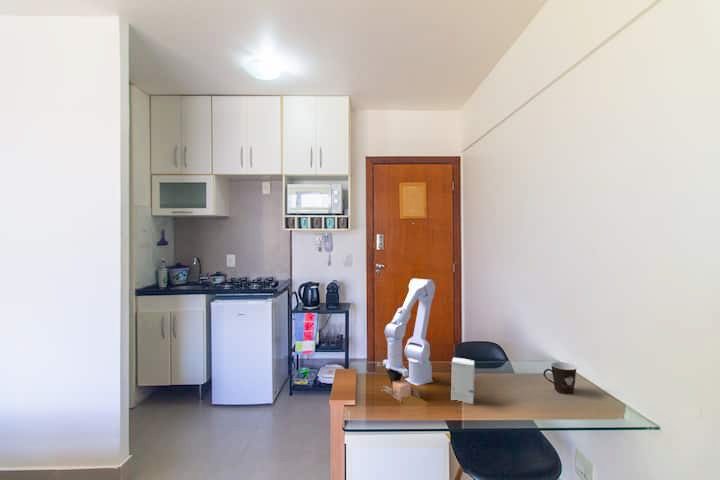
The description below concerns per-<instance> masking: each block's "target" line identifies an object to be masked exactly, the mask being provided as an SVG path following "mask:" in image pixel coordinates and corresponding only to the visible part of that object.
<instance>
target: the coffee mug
mask: <svg viewBox="0 0 720 480" xmlns="http://www.w3.org/2000/svg"><path fill="white" fill-rule="evenodd" d="M550 365H551V369H550V368H546V369H544V371H543V377H544V378H545V379H546V380H547V381H549V382H550V383H552V384H553V385H554V386H553V387H554V391H555V390H556V391H555V392H557V393H559V394H562V395H567V394H571V395H574V392H575V384H576V376H577V375H576V374H577V367H576V365H574V364H572V363H568V362H563V361H554V362H551V364H550ZM547 371H550V372H551V374H552V379H553V380H551V379H549V378H548V377H547V376H546V373H547Z"/></svg>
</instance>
